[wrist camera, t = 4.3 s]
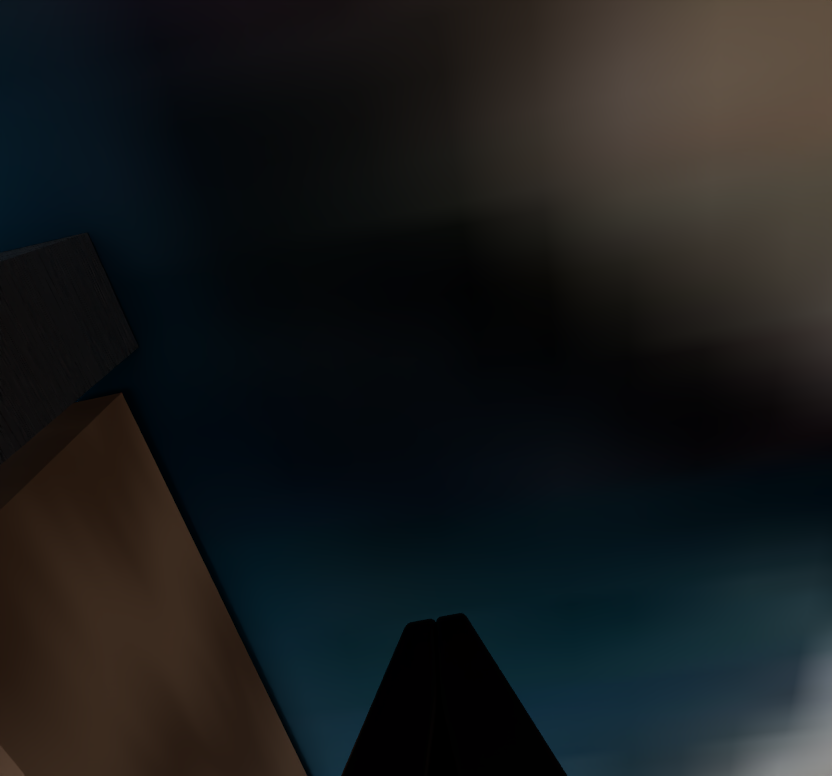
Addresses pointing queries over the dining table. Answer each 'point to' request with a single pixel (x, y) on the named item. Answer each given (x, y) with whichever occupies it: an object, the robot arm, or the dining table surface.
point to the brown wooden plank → (117, 620)
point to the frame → (54, 334)
